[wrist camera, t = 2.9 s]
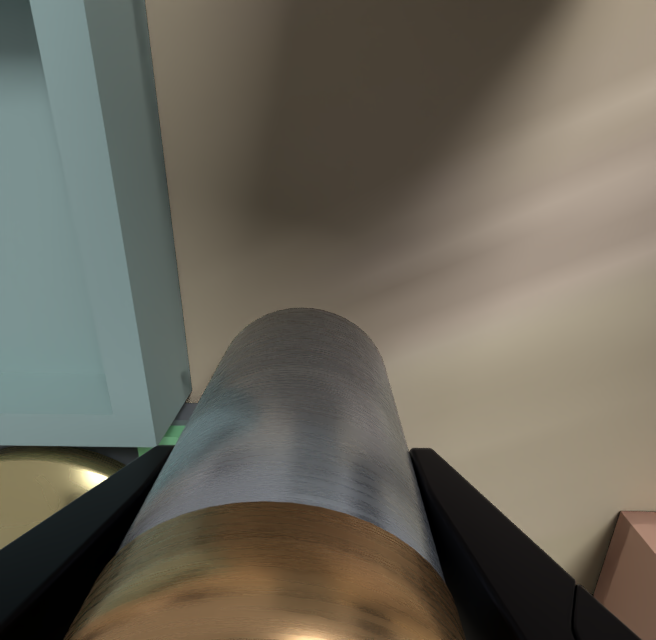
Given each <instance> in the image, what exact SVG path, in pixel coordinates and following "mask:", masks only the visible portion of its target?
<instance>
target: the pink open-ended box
mask: <svg viewBox="0 0 656 640" xmlns="http://www.w3.org/2000/svg"><path fill="white" fill-rule="evenodd" d="M593 597H595V598H596V599H597V600H598V601H599V602H600V603H601V604H602V605H603V606H604V607H606V608H607V609H608V610H609V611H610V612H611V613H612V614H614V615H615V616H616V617H617V618H618V619H619V620H620V621H621V622H623V623H624V624H625V625H626V626H627V627H628V628H629V629H630V630H632V631H633V632H634V633H635V634H636V635H637V636H638V637H640V638H641V639H642V640H656V512H640V511H621V512H620V515H619V518H618V521H617V524H616V527H615V530H614V533H613V536H612V539H611V543H610V546H609V549H608V552H607V555H606V558H605V561H604V564H603V567H602V570H601V573H600V576H599V579H598V583H597V586H596V589H595V592H594V595H593Z"/></svg>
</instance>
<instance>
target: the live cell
mask: <svg viewBox="0 0 656 640" xmlns="http://www.w3.org/2000/svg"><path fill="white" fill-rule="evenodd" d="M63 640H466V638H465V635H464V631H463V628H462V624H461V621H460V617H459V614H458V611H457V608H456V605H455V602H454V599H453V596H452V595H451V593H450V591H449V589H448V588H447V586H446V583H445V580H444V576H443V573H442V569H441V565H440V562H439V558H438V555H437V551H436V548H435V544H434V540H433V537H432V533H431V530H430V526H429V522H428V519H427V515H426V512H425V508H424V505H423V501H422V497H421V494H420V490H419V487H418V483H417V479H416V476H415V472H414V469H413V465H412V462H411V458H410V454H409V451H408V447H407V444H406V440H405V436H404V433H403V429H402V426H401V422H400V419H399V415H398V411H397V408H396V404H395V401H394V397H393V394H392V390H391V386H390V383H389V379H388V376H387V372H386V368H385V365H384V362H383V359H382V357H381V355H380V353H379V351H378V349H377V347H376V346H375V344H374V343H373V341H372V340H371V339H370V338H369V337H368V336H367V335H366V333H365V332H364V331H362V330H361V329H360V328H359V327H358V326H356V325H355V324H353V323H352V322H350V321H349V320H347V319H345V318H343V317H341V316H339V315H337V314H334V313H331V312H328V311H324V310H319V309H314V308H290V309H284V310H279V311H276V312H273V313H270V314H267V315H265V316H263V317H261V318H259V319H257V320H255V321H254V322H252V323H251V324H249V325H248V326H246V327H245V328H244V329H243V330H242V331H241V332H240V333H239V334H238V335H237V336H236V337H235V339H234V340H233V341H232V343H231V344H230V346H229V347H228V349H227V351H226V353H225V354H224V356H223V358H222V360H221V362H220V364H219V365H218V367H217V369H216V371H215V373H214V375H213V376H212V378H211V380H210V382H209V384H208V386H207V387H206V389H205V391H204V393H203V395H202V397H201V398H200V400H199V402H198V404H197V406H196V408H195V409H194V411H193V413H192V415H191V417H190V419H189V420H188V422H187V424H186V426H185V428H184V430H183V431H182V433H181V435H180V437H179V439H178V441H177V442H176V444H175V446H174V448H173V450H172V452H171V453H170V455H169V457H168V459H167V461H166V463H165V464H164V466H163V468H162V470H161V472H160V474H159V475H158V477H157V479H156V481H155V483H154V485H153V486H152V488H151V490H150V492H149V494H148V496H147V497H146V499H145V501H144V503H143V505H142V507H141V508H140V510H139V512H138V514H137V516H136V518H135V519H134V521H133V523H132V525H131V527H130V529H129V530H128V532H127V534H126V536H125V538H124V540H123V541H122V543H121V545H120V547H119V549H118V551H117V552H116V554H115V556H114V557H113V558H112V559H111V560H110V561H109V562H108V563H107V565H106V566H105V568H104V569H103V571H102V572H101V574H100V575H99V577H98V578H97V580H96V581H95V583H94V585H93V587H92V589H91V590H90V592H89V594H88V596H87V598H86V599H85V601H84V603H83V605H82V607H81V608H80V610H79V612H78V614H77V615H76V617H75V619H74V621H73V623H72V624H71V626H70V628H69V630H68V632H67V633H66V635H65V637H64V639H63Z"/></svg>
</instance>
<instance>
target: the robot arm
mask: <svg viewBox="0 0 656 640" xmlns="http://www.w3.org/2000/svg"><path fill="white" fill-rule="evenodd" d="M174 446H175V445H157V446H155V447H153V448H152V449H150V450H149V451H147V452H146V453H144V454H143V455H141V456H140V457H138V458H137V459H135V460H134V461H132V462H131V463H129V464H128V465H126V466H125V467H123V468H122V469H120V470H119V471H117V472H116V473H114V474H113V475H111V476H110V477H108V478H107V479H105V480H104V481H102V482H101V483H99V484H98V485H96V486H95V487H93V488H92V489H90V490H89V491H87V492H86V493H84V494H83V495H81V496H80V497H78V498H77V499H75V500H74V501H72V502H71V503H69V504H68V505H66V506H65V507H63V508H62V509H60V510H59V511H57V512H56V513H54V514H53V515H51V516H50V517H48V518H47V519H45V520H44V521H42V522H41V523H39V524H38V525H36V526H35V527H33V528H32V529H30V530H29V531H27V532H26V533H24V534H23V535H21V536H20V537H18V538H17V539H15V540H14V541H12V542H11V543H9V544H8V545H6V546H5V547H3V548H2V549H0V640H63V639H64V637H65V635H66V633H67V632H68V630H69V628H70V626H71V624H72V623H73V621H74V619H75V617H76V615H77V614H78V612H79V610H80V608H81V607H82V605H83V603H84V601H85V599H86V598H87V596H88V594H89V592H90V590H91V589H92V587H93V585H94V583H95V581H96V580H97V578H98V577H99V575H100V574H101V572H102V571H103V569H104V568H105V566H106V565H107V563H108V562H109V561H110V560H111V559H112V558H113V557H114V556H115V554H116V552H117V551H118V549H119V547H120V545H121V543H122V541H123V540H124V538H125V536H126V534H127V532H128V530H129V529H130V527H131V525H132V523H133V521H134V519H135V518H136V516H137V514H138V512H139V510H140V508H141V507H142V505H143V503H144V501H145V499H146V497H147V496H148V494H149V492H150V490H151V488H152V486H153V485H154V483H155V481H156V479H157V477H158V475H159V474H160V472H161V470H162V468H163V466H164V464H165V463H166V461H167V459H168V457H169V455H170V453H171V452H172V450H173V448H174ZM409 454H410V458H411V462H412V465H413V469H414V472H415V476H416V479H417V483H418V487H419V490H420V494H421V497H422V501H423V505H424V508H425V512H426V515H427V519H428V522H429V526H430V530H431V533H432V537H433V540H434V544H435V548H436V551H437V555H438V558H439V562H440V565H441V569H442V573H443V576H444V580H445V583H446V586H447V588H448V589H449V591H450V593H451V595H452V596H453V599H454V602H455V605H456V608H457V611H458V614H459V617H460V621H461V624H462V628H463V631H464V635H465V638H466V640H642V639H641V638H640V637H638V636H637V635H636V634H635V633H634V632H633V631H632V630H630V629H629V628H628V627H627V626H626V625H625V624H624V623H623V622H621V621H620V620H619V619H618V618H617V617H616V616H615V615H614V614H612V613H611V612H610V611H609V610H608V609H607V608H606V607H604V606H603V605H602V604H601V603H600V602H599V601H598V600H597V599H596V598H595V597H593V596H592V595H591V594H590V593H589V592H588V591H587V590H586V589H585V588H584V587H583V586H581V585H579V584H578V585H576V581H575V579H574V578H572V577H571V576H570V575H569V574H568V573H567V572H566V571H565V570H564V569H563V568H562V567H560V566H559V565H558V564H557V563H556V562H555V561H554V560H553V559H552V558H551V557H550V556H548V555H547V554H546V553H545V552H544V551H543V550H542V549H541V548H540V547H539V546H538V545H536V544H535V543H534V542H533V541H532V540H531V539H530V538H529V537H528V536H527V535H526V534H524V533H523V532H522V531H521V530H520V529H519V528H518V527H517V526H516V525H515V524H514V523H512V522H511V521H510V520H509V519H508V518H507V517H506V516H505V515H504V514H503V513H502V512H500V511H499V510H498V509H497V508H496V507H495V506H494V505H493V504H492V503H491V502H490V501H488V500H487V499H486V498H485V497H484V496H483V495H482V494H481V493H480V492H479V491H478V490H476V489H475V488H474V487H473V486H472V485H471V484H470V483H469V482H468V481H467V480H466V479H465V478H463V477H462V476H461V475H460V474H459V473H458V472H457V471H456V470H455V469H454V468H453V467H451V466H450V465H449V464H448V463H447V462H446V461H445V460H444V459H443V458H442V457H441V456H439V455H438V454H437V453H436V452H435V451H434V450H433V449H431V448H412V449H411V450H410V451H409Z"/></svg>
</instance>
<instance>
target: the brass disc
mask: <svg viewBox="0 0 656 640" xmlns="http://www.w3.org/2000/svg"><path fill="white" fill-rule="evenodd" d="M125 466H126V465H125V464H123V463H121V462H119V461H117V460H115V459H112V458H109V457H107V456H104V455H102V454H99V453H96V452H92V451H89V450H85V449H81V448H77V447H71V446H10V447H6V448H2V449H0V549H2V548H3V547H5V546H6V545H8V544H9V543H11V542H12V541H14V540H15V539H17V538H18V537H20V536H21V535H23V534H24V533H26V532H27V531H29V530H30V529H32V528H33V527H35V526H36V525H38V524H39V523H41V522H42V521H44V520H45V519H47V518H48V517H50V516H51V515H53V514H54V513H56V512H57V511H59V510H60V509H62V508H63V507H65V506H66V505H68V504H69V503H71V502H72V501H74V500H75V499H77V498H78V497H80V496H81V495H83V494H84V493H86V492H87V491H89V490H90V489H92V488H93V487H95V486H96V485H98V484H99V483H101V482H102V481H104V480H105V479H107V478H108V477H110V476H111V475H113V474H114V473H116V472H117V471H119V470H120V469H122V468H123V467H125Z"/></svg>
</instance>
